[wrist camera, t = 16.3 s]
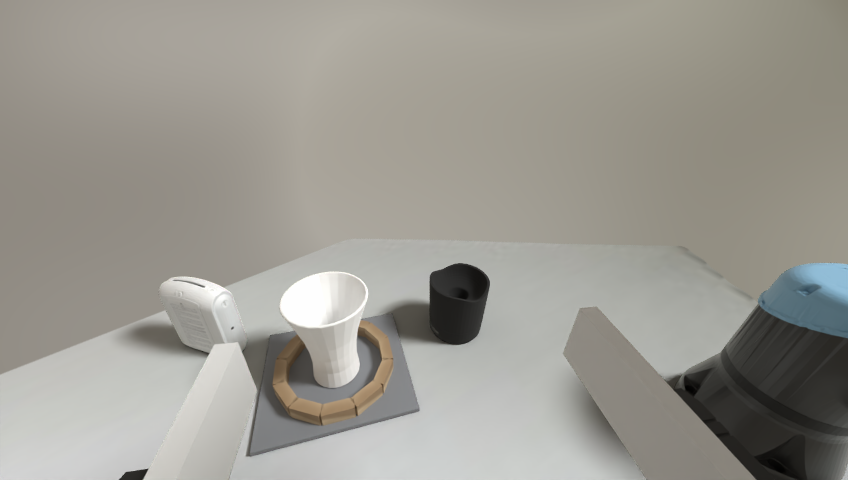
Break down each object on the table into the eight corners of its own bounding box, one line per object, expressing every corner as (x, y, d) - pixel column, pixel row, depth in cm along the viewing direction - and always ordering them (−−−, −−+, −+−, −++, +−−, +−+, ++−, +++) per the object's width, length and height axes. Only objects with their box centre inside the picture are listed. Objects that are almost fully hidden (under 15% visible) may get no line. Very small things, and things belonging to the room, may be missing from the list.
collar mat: (392, 315, 55) (392, 313, 55) (419, 411, 41) (419, 408, 40) (270, 338, 50) (269, 335, 50) (250, 456, 36) (249, 453, 35)
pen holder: (431, 304, 58) (433, 260, 53) (481, 310, 57) (488, 265, 52) (424, 343, 50) (426, 295, 45) (482, 350, 49) (491, 303, 44)
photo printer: (253, 340, 50) (232, 279, 44) (232, 362, 46) (206, 298, 40) (202, 326, 52) (174, 266, 46) (178, 346, 48) (145, 283, 42)
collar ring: (382, 319, 54) (381, 310, 53) (402, 405, 41) (402, 395, 40) (282, 337, 50) (280, 328, 49) (269, 439, 37) (266, 430, 36)
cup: (292, 408, 40) (269, 332, 33) (304, 344, 49) (288, 274, 42) (375, 396, 42) (369, 322, 35) (372, 336, 50) (367, 268, 44)
